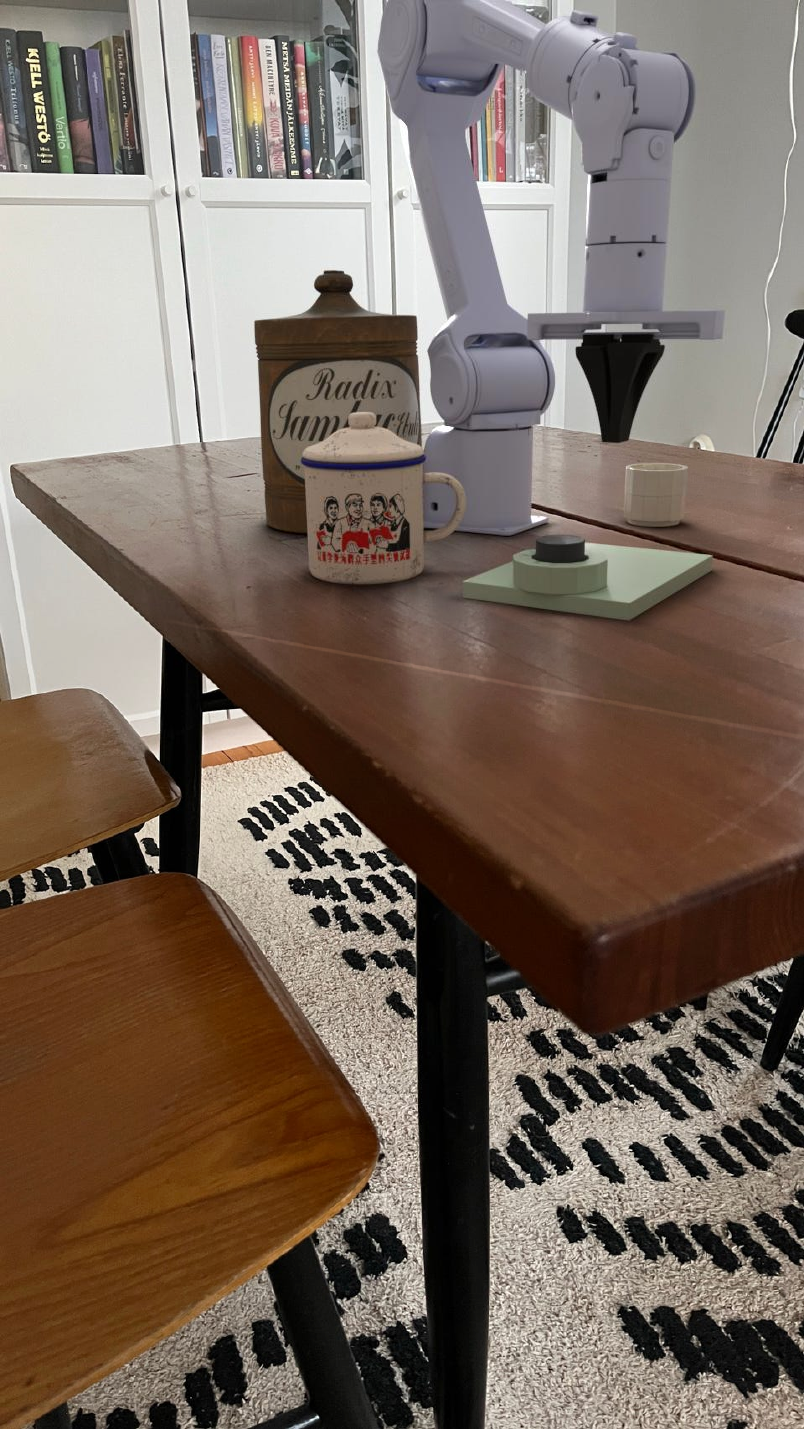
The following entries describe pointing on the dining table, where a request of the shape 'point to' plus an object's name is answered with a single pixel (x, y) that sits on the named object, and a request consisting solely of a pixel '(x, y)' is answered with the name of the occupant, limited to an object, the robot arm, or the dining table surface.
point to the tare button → (560, 549)
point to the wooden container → (329, 385)
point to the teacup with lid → (369, 505)
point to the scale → (591, 580)
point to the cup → (655, 494)
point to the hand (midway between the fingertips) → (615, 441)
